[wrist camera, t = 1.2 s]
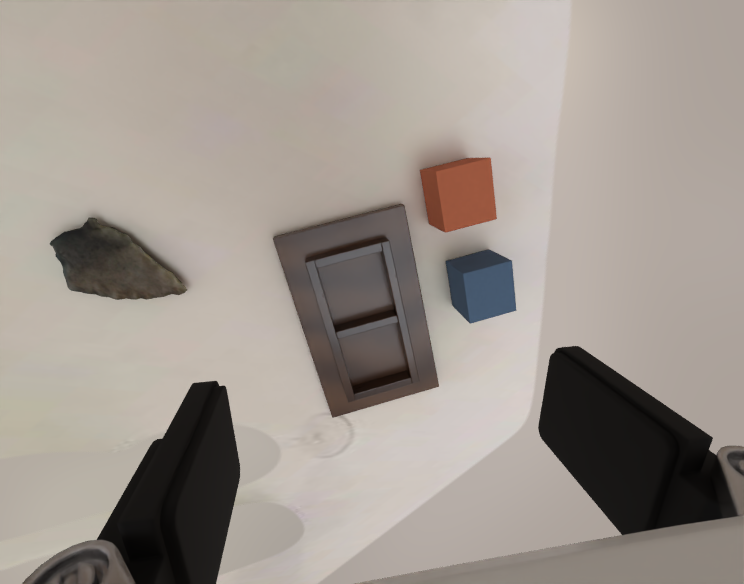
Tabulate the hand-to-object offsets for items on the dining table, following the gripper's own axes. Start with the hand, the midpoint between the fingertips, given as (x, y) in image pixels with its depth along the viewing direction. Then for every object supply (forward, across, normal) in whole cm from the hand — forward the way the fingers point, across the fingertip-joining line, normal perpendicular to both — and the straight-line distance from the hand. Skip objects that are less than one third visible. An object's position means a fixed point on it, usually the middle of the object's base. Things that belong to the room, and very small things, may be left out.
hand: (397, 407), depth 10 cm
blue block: (+25, -13, +5) cm, 29 cm away
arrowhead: (+25, +18, +1) cm, 31 cm away
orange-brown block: (+25, -10, -4) cm, 27 cm away
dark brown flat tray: (+25, -2, +8) cm, 27 cm away
